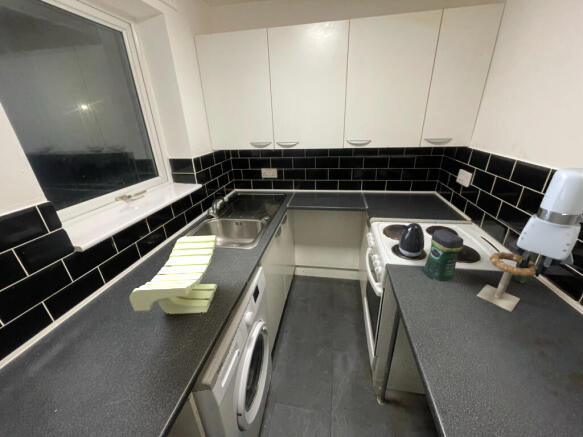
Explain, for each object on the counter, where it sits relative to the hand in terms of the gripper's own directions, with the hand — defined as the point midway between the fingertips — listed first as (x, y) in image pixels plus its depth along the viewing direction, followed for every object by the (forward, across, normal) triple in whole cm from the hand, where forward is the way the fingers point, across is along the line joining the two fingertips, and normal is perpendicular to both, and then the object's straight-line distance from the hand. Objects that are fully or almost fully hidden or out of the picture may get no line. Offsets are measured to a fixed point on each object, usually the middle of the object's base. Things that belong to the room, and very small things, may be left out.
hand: (530, 272), depth 68 cm
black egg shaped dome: (+14, +37, -4) cm, 40 cm away
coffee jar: (+14, +22, +2) cm, 26 cm away
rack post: (+14, +4, 0) cm, 15 cm away
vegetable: (+14, +3, -17) cm, 22 cm away
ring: (-1, +4, 0) cm, 4 cm away
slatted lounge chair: (+15, +69, +84) cm, 110 cm away
